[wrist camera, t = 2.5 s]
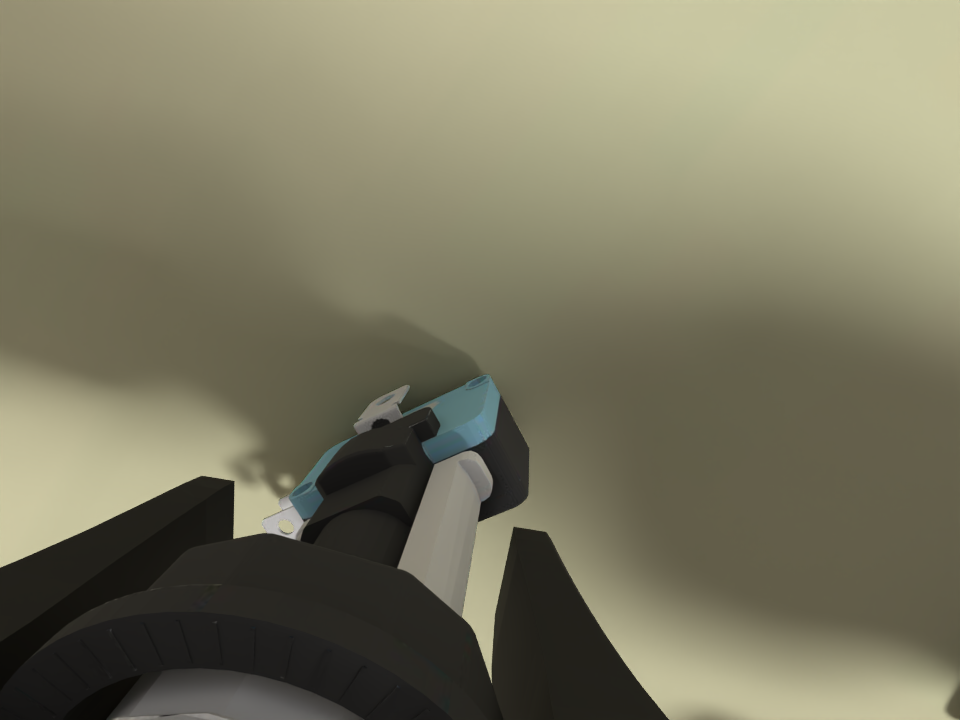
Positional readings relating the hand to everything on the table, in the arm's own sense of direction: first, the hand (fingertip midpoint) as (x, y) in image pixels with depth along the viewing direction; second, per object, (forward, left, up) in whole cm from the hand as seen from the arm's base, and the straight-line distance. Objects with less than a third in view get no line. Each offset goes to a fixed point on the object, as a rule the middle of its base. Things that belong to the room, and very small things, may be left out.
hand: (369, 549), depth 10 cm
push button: (0, 0, -4) cm, 4 cm away
